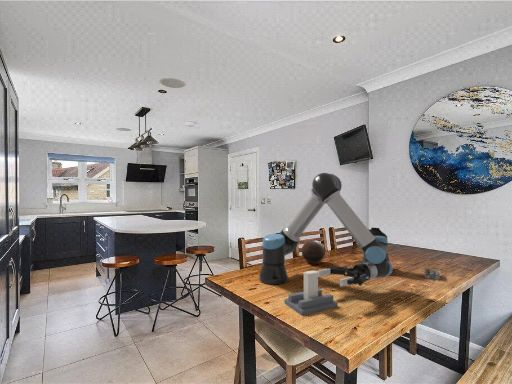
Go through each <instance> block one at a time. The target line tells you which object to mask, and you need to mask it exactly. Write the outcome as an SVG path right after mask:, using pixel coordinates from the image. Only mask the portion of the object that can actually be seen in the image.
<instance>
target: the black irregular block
mask: <svg viewBox="0 0 512 384" xmlns="http://www.w3.org/2000/svg"><path fill="white" fill-rule="evenodd" d="M367 229H368V230H369V231H370V232H371V234H372V235H373V236H384V237H386V238H387V239H388V235H387V234H386V233H384V232H383V231H381V229H380V228H379V227H371V229H369V228H367ZM389 257H390V256H388V257H387V259H388V261H389V262H390V258H389ZM366 262H369V261H368V260H367V258H366V255H365V253H364V252H363V258H362V261H361V263H366ZM361 263H360V264H361ZM390 263H391V262H390Z"/></svg>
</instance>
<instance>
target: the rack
mask: <svg viewBox="0 0 512 384" xmlns="http://www.w3.org/2000/svg"><path fill="white" fill-rule="evenodd" d="M287 295H288V297H287V298H285V299H284V300H283V301H284V304H285V305H286V306H288V307H289V308H290V309H292V310H293V311H294V312H296V313H297V314H299V315H300V316H303V315H307V314H309V315H310V314H312V313H316V312H320V311H325V310H329V309H333V308H337V307H338V306H339V305H338V302H337V301H335V300H334V295H332V294H330V293H327V294H323V289H321V288H318V297H314V298H309V299H304V291H300V292H295V293H289V294H287Z"/></svg>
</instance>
